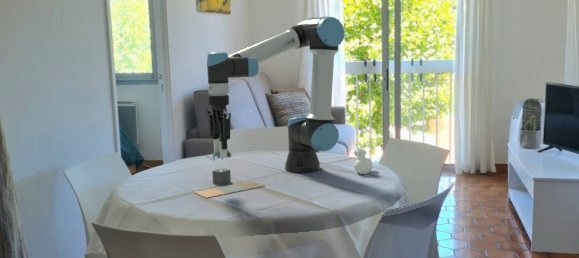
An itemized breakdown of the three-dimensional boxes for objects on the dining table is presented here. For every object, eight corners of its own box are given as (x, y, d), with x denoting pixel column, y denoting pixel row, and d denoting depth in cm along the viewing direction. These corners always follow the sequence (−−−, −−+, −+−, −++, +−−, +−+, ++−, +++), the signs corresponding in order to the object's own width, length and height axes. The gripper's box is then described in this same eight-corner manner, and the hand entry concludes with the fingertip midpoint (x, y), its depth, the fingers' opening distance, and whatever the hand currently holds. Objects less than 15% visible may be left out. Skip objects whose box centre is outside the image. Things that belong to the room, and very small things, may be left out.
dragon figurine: (222, 159, 206) (234, 147, 211) (205, 150, 208) (217, 139, 213) (220, 172, 210) (232, 160, 215) (204, 163, 212) (216, 152, 217)
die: (221, 180, 231) (221, 168, 230) (230, 182, 228) (230, 169, 227) (213, 182, 227) (212, 170, 226) (221, 184, 224) (221, 172, 223)
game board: (251, 181, 227) (251, 180, 227) (264, 186, 219) (264, 185, 219) (193, 192, 213) (193, 191, 213) (206, 198, 205) (206, 197, 205)
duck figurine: (368, 174, 244) (354, 152, 246) (381, 165, 240) (366, 143, 242) (355, 180, 234) (340, 157, 237) (368, 171, 230) (353, 148, 232)
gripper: (198, 93, 213) (201, 154, 217) (220, 96, 200) (222, 161, 203) (216, 92, 218) (218, 152, 221) (239, 95, 204) (240, 159, 208)
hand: (220, 156), depth 212 cm, fingers closed on dragon figurine, 4 cm apart
